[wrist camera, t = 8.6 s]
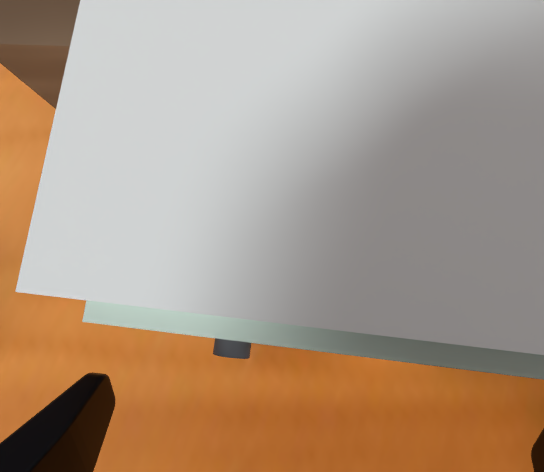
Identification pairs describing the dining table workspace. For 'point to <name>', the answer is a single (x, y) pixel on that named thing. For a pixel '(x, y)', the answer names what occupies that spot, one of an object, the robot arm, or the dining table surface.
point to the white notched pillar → (303, 177)
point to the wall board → (37, 42)
